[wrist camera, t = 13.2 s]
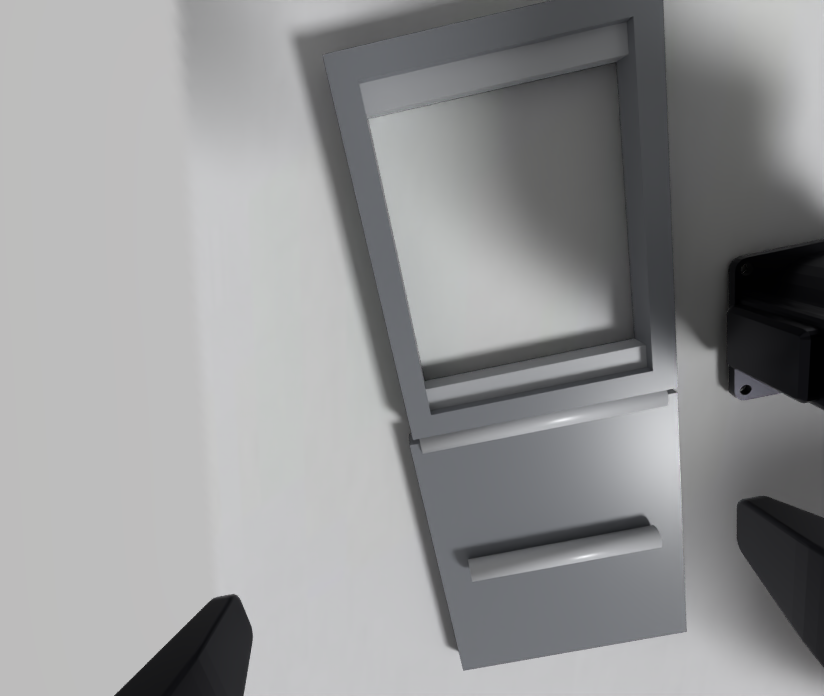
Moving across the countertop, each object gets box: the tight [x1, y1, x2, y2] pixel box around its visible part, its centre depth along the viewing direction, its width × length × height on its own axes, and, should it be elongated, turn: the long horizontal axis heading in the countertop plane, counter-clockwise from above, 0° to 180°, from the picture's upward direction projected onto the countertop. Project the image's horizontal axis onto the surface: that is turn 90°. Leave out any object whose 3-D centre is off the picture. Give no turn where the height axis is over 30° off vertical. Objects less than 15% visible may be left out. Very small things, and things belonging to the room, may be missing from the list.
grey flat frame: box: [323, 0, 687, 671], centre depth 21 cm, size 12×30×2 cm, turn 12°
